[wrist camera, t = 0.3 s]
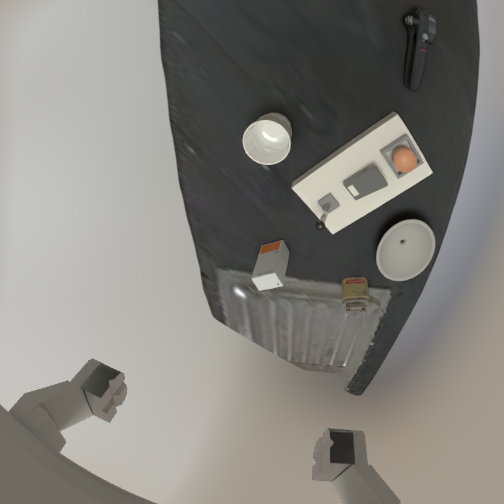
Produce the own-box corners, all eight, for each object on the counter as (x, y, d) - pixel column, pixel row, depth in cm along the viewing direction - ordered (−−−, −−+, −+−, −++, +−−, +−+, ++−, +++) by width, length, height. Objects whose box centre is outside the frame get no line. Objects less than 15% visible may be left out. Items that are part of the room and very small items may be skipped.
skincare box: (282, 238, 67) (275, 272, 58) (289, 251, 69) (284, 286, 60) (260, 244, 70) (250, 278, 61) (268, 257, 72) (259, 291, 63)
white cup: (260, 104, 48) (248, 114, 41) (299, 116, 48) (296, 128, 41) (250, 140, 53) (238, 157, 46) (288, 151, 53) (282, 170, 46)
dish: (378, 205, 56) (382, 217, 52) (436, 209, 53) (443, 221, 49) (368, 266, 67) (370, 280, 63) (419, 268, 64) (423, 281, 60)
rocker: (375, 165, 45) (375, 168, 45) (387, 183, 47) (387, 186, 46) (343, 181, 51) (342, 184, 50) (356, 197, 53) (355, 200, 52)
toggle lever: (329, 200, 53) (319, 224, 50) (334, 207, 54) (325, 230, 50) (322, 203, 55) (312, 226, 51) (327, 210, 55) (318, 233, 52)
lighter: (367, 276, 69) (371, 305, 61) (367, 286, 71) (369, 315, 64) (341, 277, 71) (342, 306, 64) (341, 287, 73) (342, 316, 66)
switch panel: (393, 111, 43) (400, 116, 39) (427, 167, 48) (435, 176, 44) (292, 181, 57) (290, 191, 54) (332, 226, 62) (332, 238, 59)
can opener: (401, 3, 28) (410, -2, 24) (435, 17, 27) (446, 14, 23) (390, 83, 40) (398, 86, 35) (422, 95, 39) (433, 99, 35)
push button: (405, 141, 42) (409, 145, 40) (417, 160, 44) (420, 165, 42) (387, 153, 45) (390, 158, 43) (399, 171, 46) (402, 177, 44)
